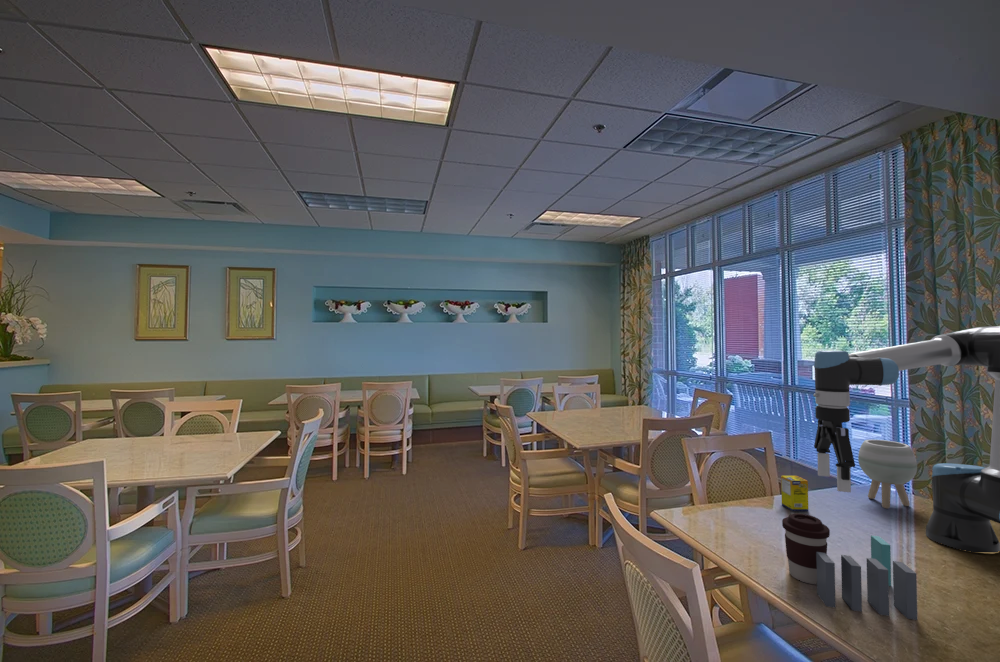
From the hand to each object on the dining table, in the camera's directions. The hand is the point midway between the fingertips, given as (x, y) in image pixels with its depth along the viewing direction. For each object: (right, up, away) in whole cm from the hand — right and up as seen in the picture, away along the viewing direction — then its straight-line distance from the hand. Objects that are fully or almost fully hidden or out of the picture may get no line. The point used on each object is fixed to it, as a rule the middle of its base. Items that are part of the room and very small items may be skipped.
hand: (833, 483), depth 118 cm
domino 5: (-2, -21, -23) cm, 31 cm away
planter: (+51, -22, +40) cm, 68 cm away
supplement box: (+14, -22, +36) cm, 45 cm away
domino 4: (-6, -21, -21) cm, 30 cm away
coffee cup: (-14, -21, -9) cm, 27 cm away
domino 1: (-16, -21, -18) cm, 32 cm away
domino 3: (+4, -21, -10) cm, 24 cm away
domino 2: (-11, -21, -20) cm, 31 cm away
